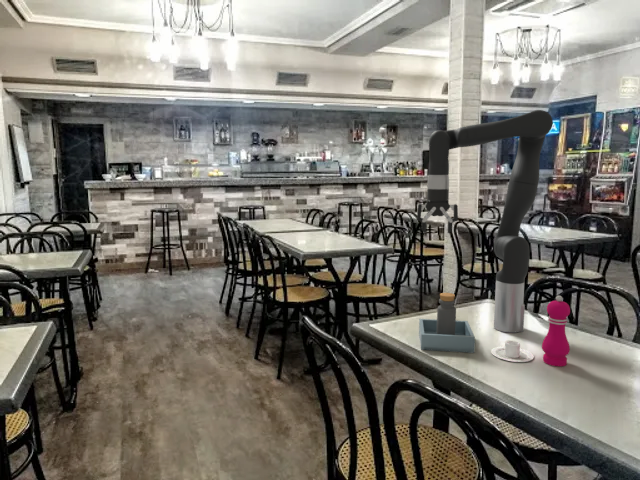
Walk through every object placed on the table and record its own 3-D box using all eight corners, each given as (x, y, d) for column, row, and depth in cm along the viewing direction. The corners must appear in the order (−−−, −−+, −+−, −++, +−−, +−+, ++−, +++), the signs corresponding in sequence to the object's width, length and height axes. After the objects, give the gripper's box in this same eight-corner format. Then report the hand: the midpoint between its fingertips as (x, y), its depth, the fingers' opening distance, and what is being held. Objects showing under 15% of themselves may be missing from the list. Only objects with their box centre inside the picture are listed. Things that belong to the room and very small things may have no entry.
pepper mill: (557, 369, 134) (562, 300, 131) (535, 360, 140) (539, 294, 137) (574, 364, 137) (579, 297, 134) (551, 355, 143) (556, 291, 140)
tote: (466, 335, 162) (467, 320, 161) (474, 352, 146) (474, 337, 145) (419, 332, 164) (419, 318, 163) (420, 349, 149) (421, 334, 148)
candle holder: (499, 345, 152) (500, 332, 152) (538, 355, 145) (539, 341, 144) (484, 357, 144) (485, 343, 143) (526, 367, 136) (527, 353, 135)
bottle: (453, 336, 158) (455, 292, 155) (456, 342, 152) (458, 297, 150) (435, 335, 158) (436, 291, 156) (437, 342, 152) (439, 296, 150)
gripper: (418, 188, 167) (417, 233, 170) (460, 188, 165) (458, 234, 167) (417, 187, 175) (416, 231, 177) (457, 187, 172) (455, 231, 175)
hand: (436, 232), depth 172 cm, fingers open, 8 cm apart
